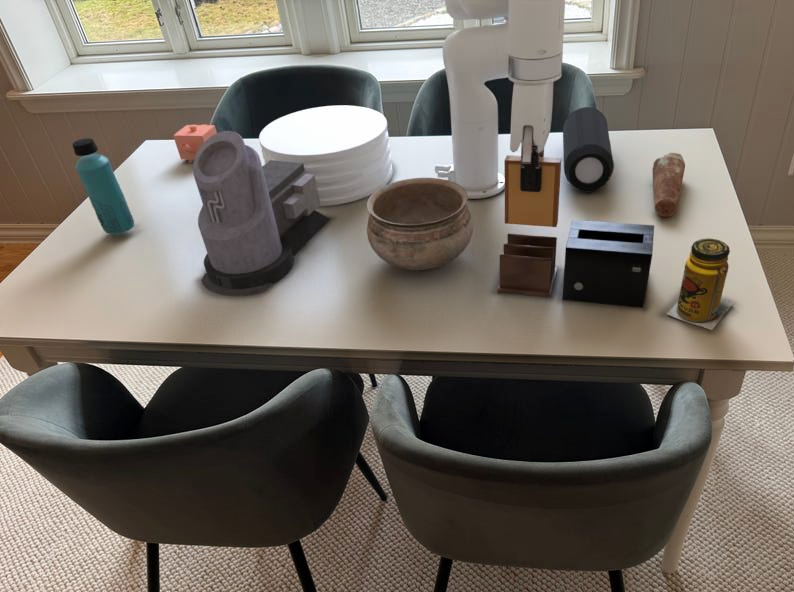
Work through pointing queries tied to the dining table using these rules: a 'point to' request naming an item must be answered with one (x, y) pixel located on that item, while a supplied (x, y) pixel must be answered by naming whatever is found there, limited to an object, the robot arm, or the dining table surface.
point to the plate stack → (334, 149)
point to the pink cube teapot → (192, 139)
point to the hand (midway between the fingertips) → (532, 186)
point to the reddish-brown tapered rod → (667, 183)
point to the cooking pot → (419, 222)
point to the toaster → (608, 263)
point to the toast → (532, 194)
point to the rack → (528, 265)
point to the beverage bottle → (102, 188)
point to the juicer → (251, 215)
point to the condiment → (703, 285)
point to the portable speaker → (587, 150)
